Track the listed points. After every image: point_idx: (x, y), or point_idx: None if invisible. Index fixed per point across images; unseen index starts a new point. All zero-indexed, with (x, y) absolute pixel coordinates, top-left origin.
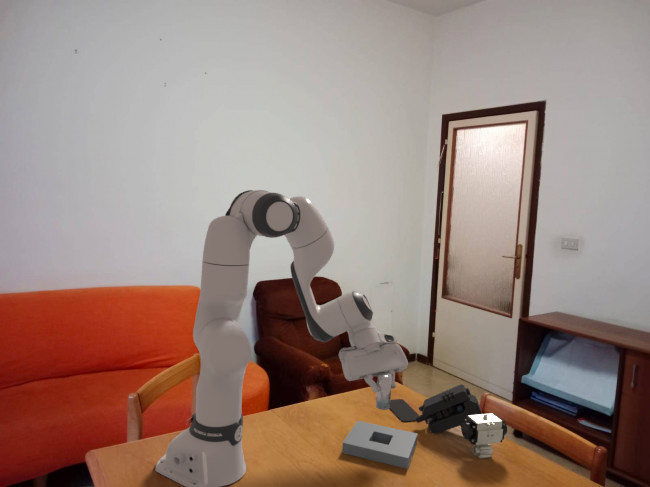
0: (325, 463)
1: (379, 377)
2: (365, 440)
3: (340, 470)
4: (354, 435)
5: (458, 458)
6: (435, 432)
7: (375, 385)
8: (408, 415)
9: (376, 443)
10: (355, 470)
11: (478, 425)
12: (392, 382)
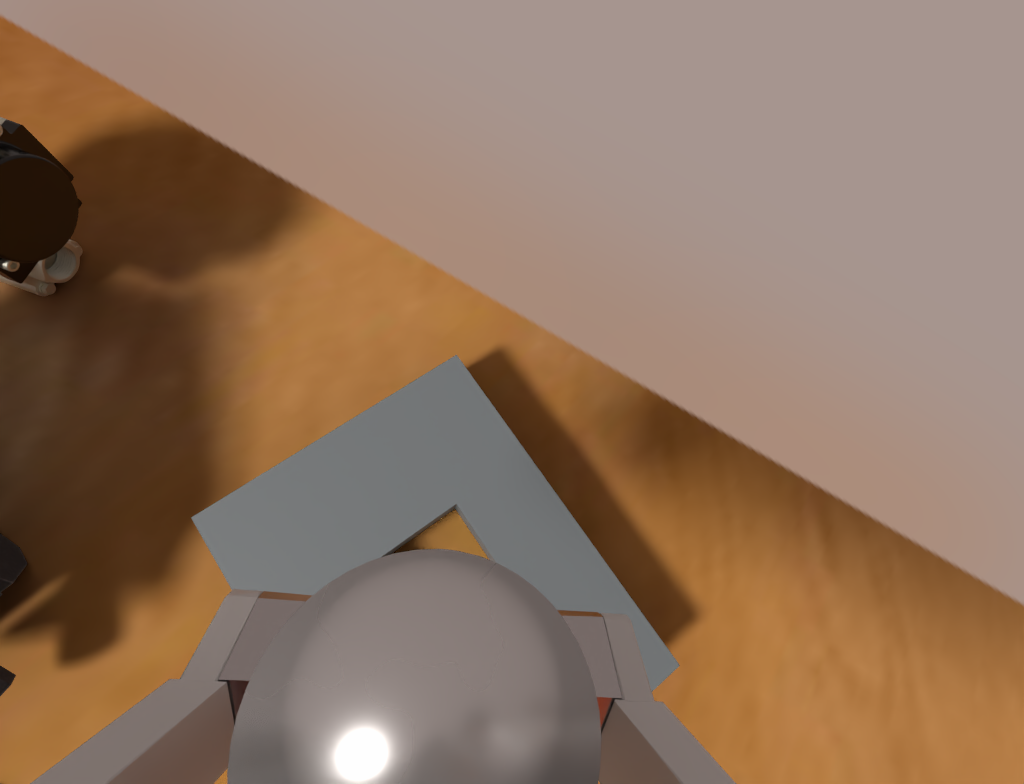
0: (770, 610)
1: (598, 710)
2: None
3: (732, 523)
4: None
5: (166, 308)
6: (6, 545)
7: (635, 672)
8: None
9: (508, 553)
10: (671, 488)
11: None
12: (261, 647)
